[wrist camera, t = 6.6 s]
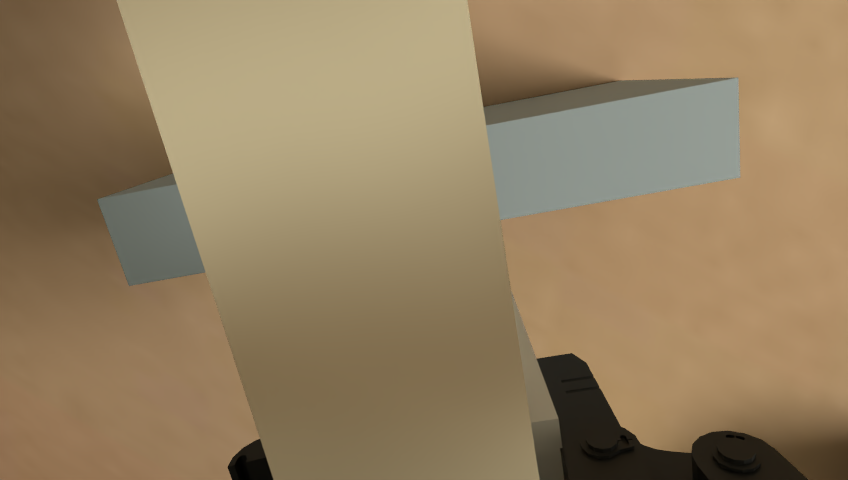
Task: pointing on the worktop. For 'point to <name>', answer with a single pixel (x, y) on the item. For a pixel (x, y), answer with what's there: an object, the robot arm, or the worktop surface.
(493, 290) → the beige flat block
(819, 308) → the worktop surface
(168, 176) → the slate notched block
